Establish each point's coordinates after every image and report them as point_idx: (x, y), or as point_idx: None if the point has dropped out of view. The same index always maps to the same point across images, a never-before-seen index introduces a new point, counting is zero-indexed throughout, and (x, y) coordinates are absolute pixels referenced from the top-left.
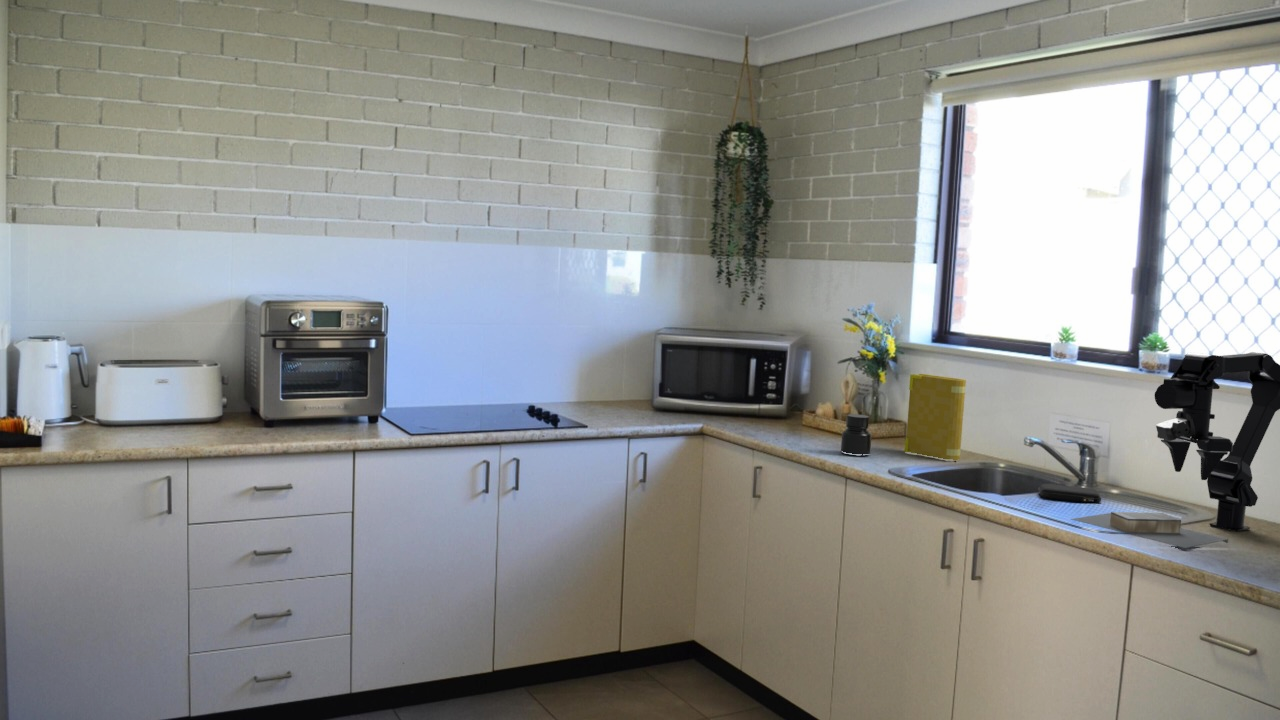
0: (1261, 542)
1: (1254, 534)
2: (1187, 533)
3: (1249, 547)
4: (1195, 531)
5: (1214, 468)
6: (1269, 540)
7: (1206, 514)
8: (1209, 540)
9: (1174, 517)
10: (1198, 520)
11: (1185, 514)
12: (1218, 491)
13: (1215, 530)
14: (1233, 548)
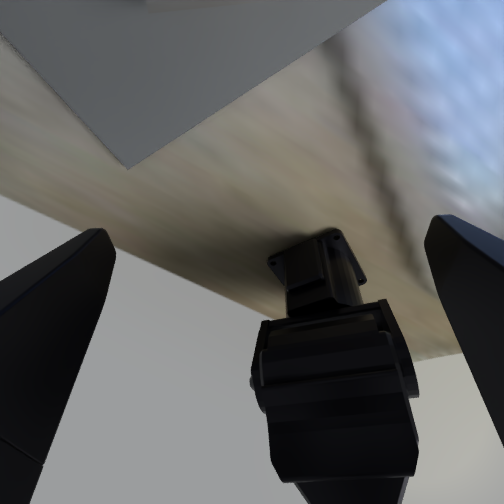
0: (164, 256)
1: (252, 284)
2: (166, 45)
3: (81, 192)
4: (216, 111)
5: (389, 414)
6: (194, 283)
7: None
8: (69, 79)
9: (201, 5)
10: (410, 237)
11: None
12: (329, 322)
13: (285, 215)
14: (34, 130)
